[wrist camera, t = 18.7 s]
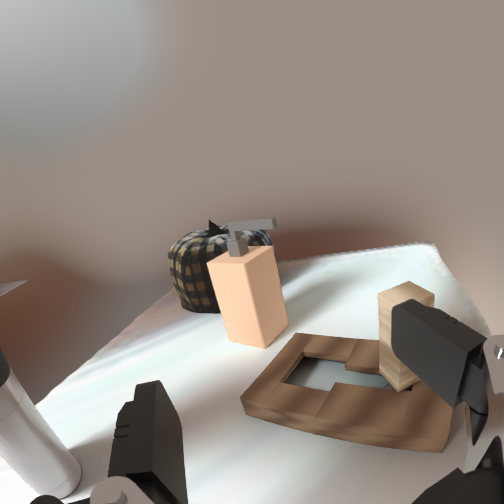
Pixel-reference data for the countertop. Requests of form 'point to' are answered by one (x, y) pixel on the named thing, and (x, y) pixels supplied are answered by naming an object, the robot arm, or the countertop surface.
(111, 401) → the countertop surface
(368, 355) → the walnut keyhole board
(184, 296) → the decorative pumpkin
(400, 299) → the birch peg
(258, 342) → the soap dispenser
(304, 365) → the countertop surface
